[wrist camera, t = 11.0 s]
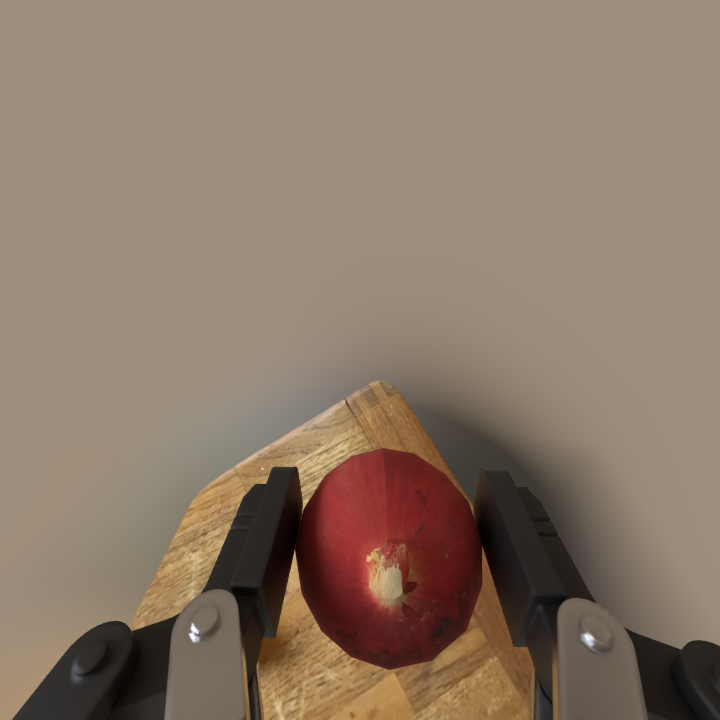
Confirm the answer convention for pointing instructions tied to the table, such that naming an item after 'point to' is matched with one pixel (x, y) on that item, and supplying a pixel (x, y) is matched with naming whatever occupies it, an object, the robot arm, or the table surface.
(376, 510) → the onion
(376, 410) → the table surface
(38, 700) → the robot arm
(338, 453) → the table surface
